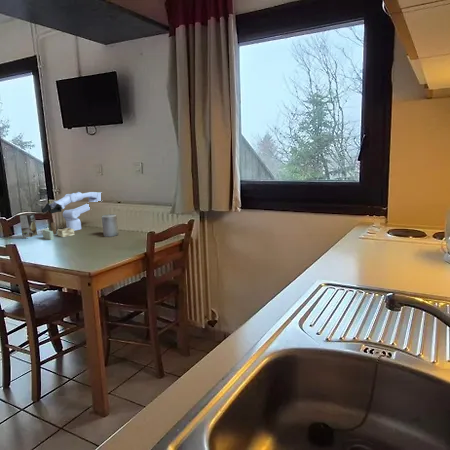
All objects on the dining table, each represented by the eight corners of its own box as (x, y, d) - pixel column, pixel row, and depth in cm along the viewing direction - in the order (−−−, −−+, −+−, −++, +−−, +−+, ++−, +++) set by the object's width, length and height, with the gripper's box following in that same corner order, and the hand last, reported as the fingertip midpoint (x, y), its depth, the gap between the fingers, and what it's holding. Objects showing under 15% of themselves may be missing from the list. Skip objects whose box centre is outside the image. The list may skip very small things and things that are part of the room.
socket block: (69, 233, 283) (68, 227, 282) (74, 234, 278) (73, 229, 277) (57, 235, 278) (57, 229, 277) (63, 237, 272) (62, 231, 271)
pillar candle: (114, 233, 284) (111, 211, 281) (121, 234, 277) (118, 213, 274) (101, 235, 278) (98, 214, 275) (107, 237, 270) (105, 215, 268)
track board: (71, 233, 287) (70, 224, 286) (80, 236, 278) (79, 226, 277) (41, 239, 273) (40, 229, 272) (50, 242, 263) (48, 232, 262)
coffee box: (31, 238, 277) (28, 215, 273) (22, 238, 277) (19, 215, 274) (37, 235, 286) (35, 212, 282) (28, 235, 286) (25, 213, 283)
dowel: (55, 234, 286) (54, 222, 284) (57, 235, 284) (56, 222, 282) (51, 235, 284) (49, 222, 282) (53, 236, 282) (51, 223, 280)
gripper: (52, 197, 286) (36, 205, 275) (67, 198, 280) (52, 207, 269) (55, 206, 289) (40, 215, 279) (70, 207, 283) (55, 216, 272)
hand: (46, 211), depth 274 cm, fingers open, 7 cm apart
